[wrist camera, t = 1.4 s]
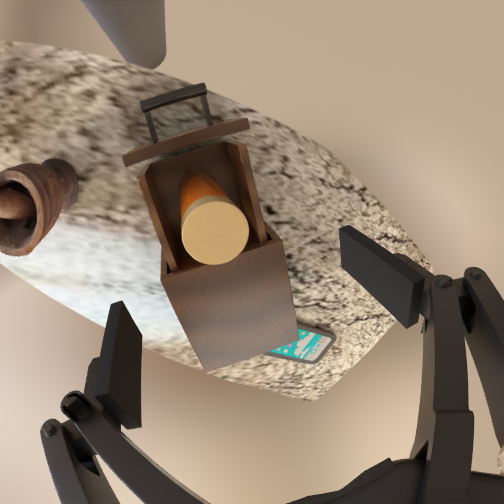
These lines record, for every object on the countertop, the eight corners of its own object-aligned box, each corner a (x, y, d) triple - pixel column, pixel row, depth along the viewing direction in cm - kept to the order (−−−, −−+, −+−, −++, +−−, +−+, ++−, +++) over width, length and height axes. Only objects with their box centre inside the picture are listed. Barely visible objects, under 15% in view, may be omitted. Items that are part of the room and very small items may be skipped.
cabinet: (161, 241, 39) (160, 280, 29) (255, 211, 40) (282, 239, 31) (196, 325, 46) (205, 372, 37) (275, 298, 48) (299, 339, 39)
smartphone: (315, 366, 57) (257, 354, 51) (313, 363, 58) (255, 350, 52) (339, 336, 55) (282, 318, 49) (337, 333, 56) (280, 315, 50)
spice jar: (180, 167, 33) (186, 197, 20) (222, 173, 35) (255, 206, 22) (174, 208, 35) (178, 262, 22) (215, 212, 37) (242, 267, 24)
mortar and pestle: (12, 210, 30) (-69, 278, 13) (15, 150, 27) (-81, 184, 10) (79, 219, 34) (17, 301, 17) (85, 155, 31) (9, 191, 14)
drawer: (123, 112, 29) (108, 108, 22) (221, 83, 31) (236, 70, 23) (168, 250, 39) (169, 283, 31) (255, 222, 40) (276, 248, 33)
